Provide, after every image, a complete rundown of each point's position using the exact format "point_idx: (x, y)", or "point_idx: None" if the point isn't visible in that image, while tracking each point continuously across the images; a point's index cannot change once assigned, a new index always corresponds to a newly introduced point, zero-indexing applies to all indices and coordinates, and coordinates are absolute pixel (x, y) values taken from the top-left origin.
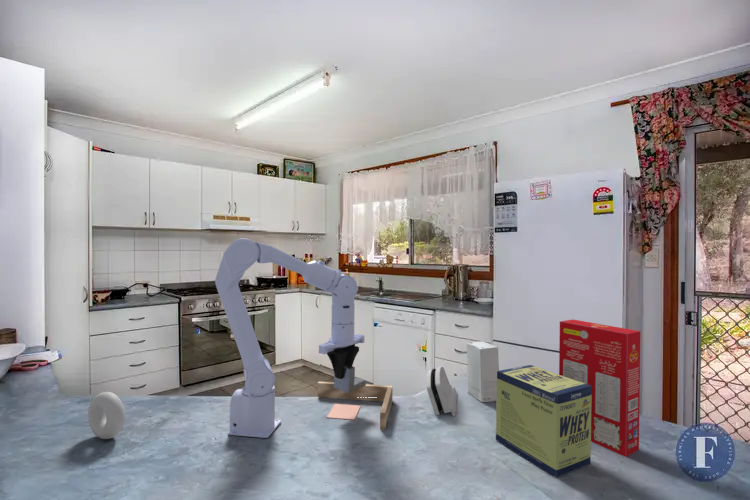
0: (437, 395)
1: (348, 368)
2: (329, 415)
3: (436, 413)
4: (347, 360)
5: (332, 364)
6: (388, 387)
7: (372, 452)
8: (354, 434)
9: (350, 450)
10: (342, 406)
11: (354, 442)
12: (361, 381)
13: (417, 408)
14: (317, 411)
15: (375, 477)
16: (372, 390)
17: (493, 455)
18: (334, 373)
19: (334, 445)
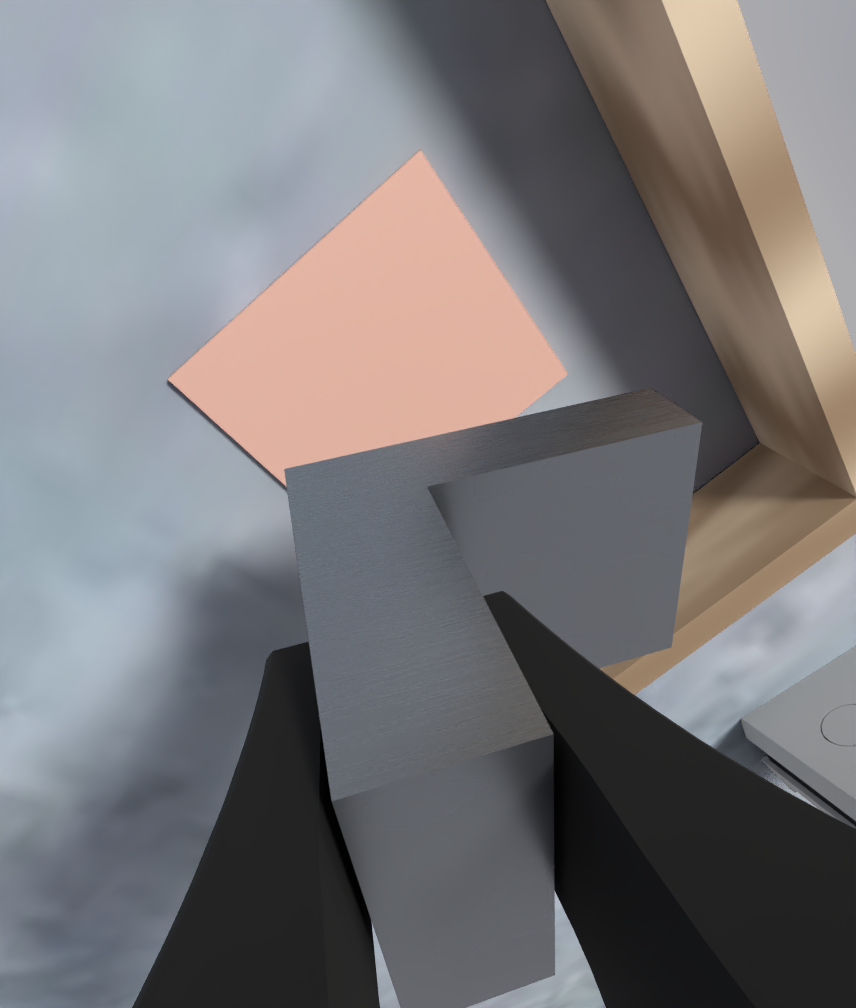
0: (838, 808)
1: (417, 1006)
2: (212, 365)
3: (747, 730)
4: (613, 957)
5: (189, 920)
6: (854, 507)
7: (192, 869)
8: (220, 702)
9: (88, 824)
10: (440, 272)
11: (161, 771)
12: (605, 658)
13: (765, 624)
14: (153, 164)
15: (81, 996)
16: (781, 377)
17: (561, 985)
18: (259, 699)
19: (15, 753)
